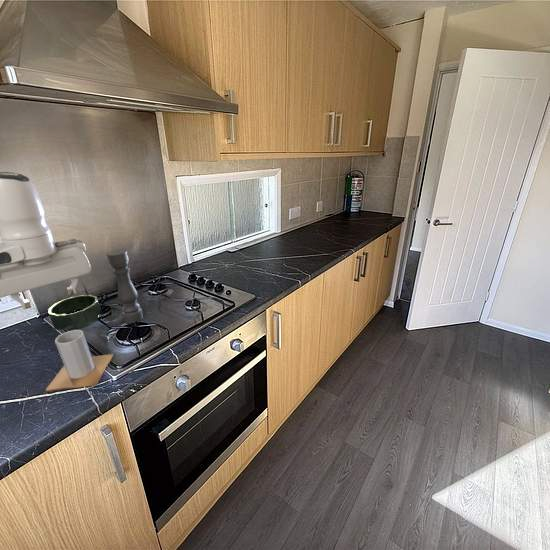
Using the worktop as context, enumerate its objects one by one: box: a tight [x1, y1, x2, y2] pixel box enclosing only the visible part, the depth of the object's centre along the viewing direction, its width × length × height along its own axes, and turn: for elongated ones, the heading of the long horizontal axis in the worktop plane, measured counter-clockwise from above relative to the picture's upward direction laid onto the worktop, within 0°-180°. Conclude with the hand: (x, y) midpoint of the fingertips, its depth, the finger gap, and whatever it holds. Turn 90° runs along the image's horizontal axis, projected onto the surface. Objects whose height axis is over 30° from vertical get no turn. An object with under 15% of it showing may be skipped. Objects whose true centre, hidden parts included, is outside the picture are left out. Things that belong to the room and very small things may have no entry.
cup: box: [54, 329, 95, 379], centre depth 77 cm, size 6×6×11 cm
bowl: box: [47, 294, 102, 331], centre depth 104 cm, size 15×15×6 cm
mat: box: [45, 353, 114, 392], centre depth 79 cm, size 12×12×1 cm
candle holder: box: [106, 249, 144, 325], centre depth 99 cm, size 6×6×25 cm
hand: (50, 300), depth 72 cm, fingers open, 8 cm apart
